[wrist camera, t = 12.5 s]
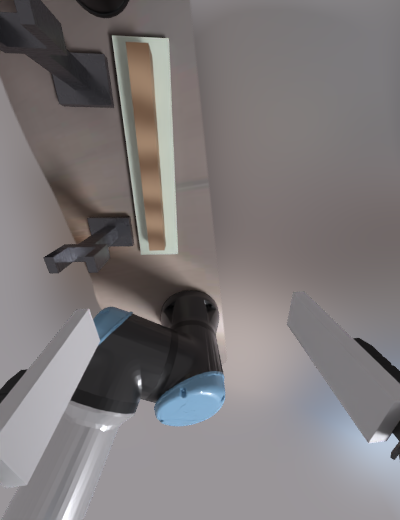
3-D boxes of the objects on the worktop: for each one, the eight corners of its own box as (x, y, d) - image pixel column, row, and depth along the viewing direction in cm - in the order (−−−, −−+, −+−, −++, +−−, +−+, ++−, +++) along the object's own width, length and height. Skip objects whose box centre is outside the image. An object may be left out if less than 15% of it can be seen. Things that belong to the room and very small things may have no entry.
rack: (134, 244, 42) (106, 283, 27) (96, 244, 41) (47, 284, 27) (106, 58, 29) (26, -55, 14) (52, 56, 28) (-89, -64, 14)
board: (178, 251, 43) (177, 253, 42) (142, 252, 43) (141, 254, 41) (169, 43, 29) (168, 38, 27) (114, 40, 28) (111, 35, 27)
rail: (165, 245, 41) (164, 250, 38) (151, 245, 41) (149, 250, 38) (152, 55, 28) (148, 42, 25) (131, 54, 28) (125, 41, 25)
